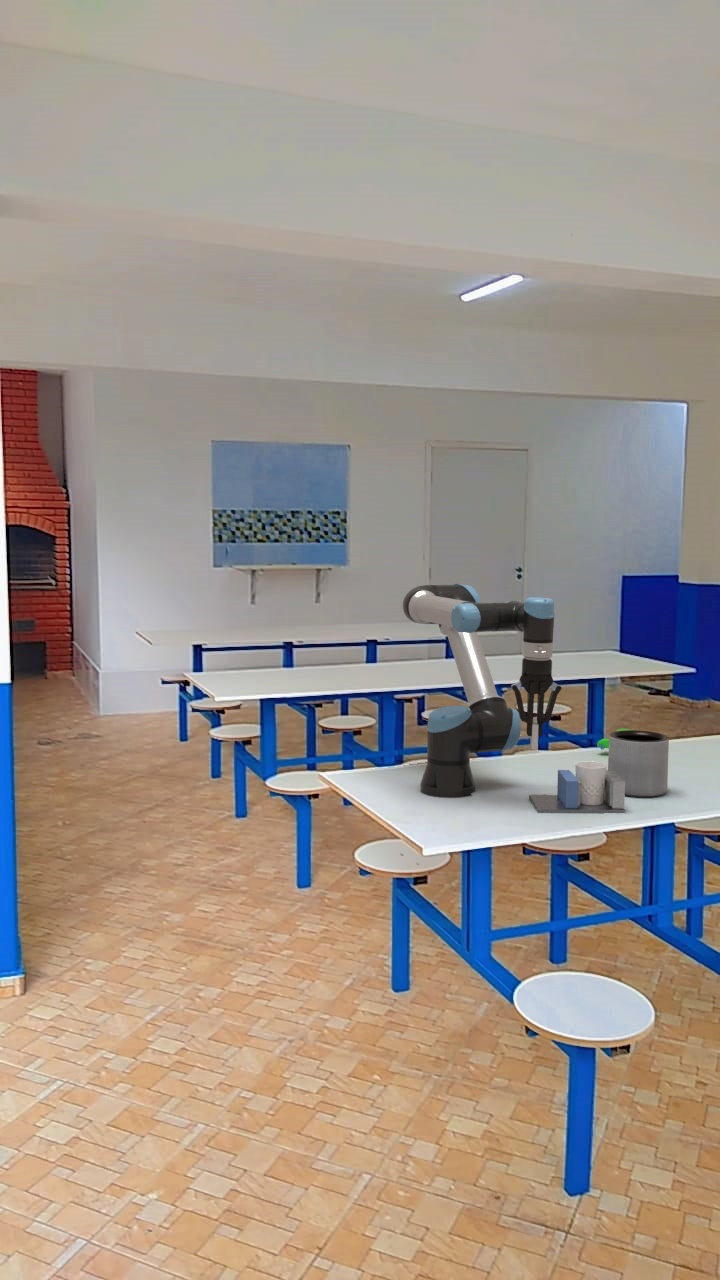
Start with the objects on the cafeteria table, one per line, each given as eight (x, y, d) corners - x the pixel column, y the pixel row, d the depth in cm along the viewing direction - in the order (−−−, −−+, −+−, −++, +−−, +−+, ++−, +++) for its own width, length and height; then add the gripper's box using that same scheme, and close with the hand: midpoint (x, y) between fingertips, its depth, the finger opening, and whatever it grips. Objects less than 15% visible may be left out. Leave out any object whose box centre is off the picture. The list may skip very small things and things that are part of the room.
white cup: (575, 805, 258) (577, 767, 257) (572, 797, 266) (574, 760, 265) (607, 806, 257) (608, 768, 256) (603, 798, 265) (604, 761, 264)
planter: (649, 782, 287) (651, 728, 285) (678, 797, 271) (680, 740, 269) (596, 785, 283) (598, 730, 281) (623, 800, 268) (625, 742, 266)
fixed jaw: (609, 808, 255) (610, 781, 254) (599, 796, 267) (600, 770, 266) (624, 808, 255) (625, 781, 254) (612, 796, 267) (613, 770, 266)
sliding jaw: (565, 808, 255) (566, 781, 255) (557, 795, 267) (558, 769, 266) (580, 808, 255) (580, 781, 255) (570, 795, 267) (571, 769, 266)
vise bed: (537, 813, 255) (537, 809, 254) (529, 798, 268) (529, 794, 268) (625, 814, 254) (625, 810, 254) (611, 799, 268) (611, 795, 268)
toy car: (636, 749, 330) (636, 729, 329) (629, 753, 325) (630, 733, 324) (603, 745, 336) (604, 726, 336) (596, 749, 331) (596, 729, 330)
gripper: (513, 659, 254) (510, 751, 257) (565, 660, 253) (561, 752, 257) (509, 655, 261) (506, 744, 264) (560, 656, 261) (556, 745, 264)
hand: (533, 748), depth 260 cm, fingers closed
